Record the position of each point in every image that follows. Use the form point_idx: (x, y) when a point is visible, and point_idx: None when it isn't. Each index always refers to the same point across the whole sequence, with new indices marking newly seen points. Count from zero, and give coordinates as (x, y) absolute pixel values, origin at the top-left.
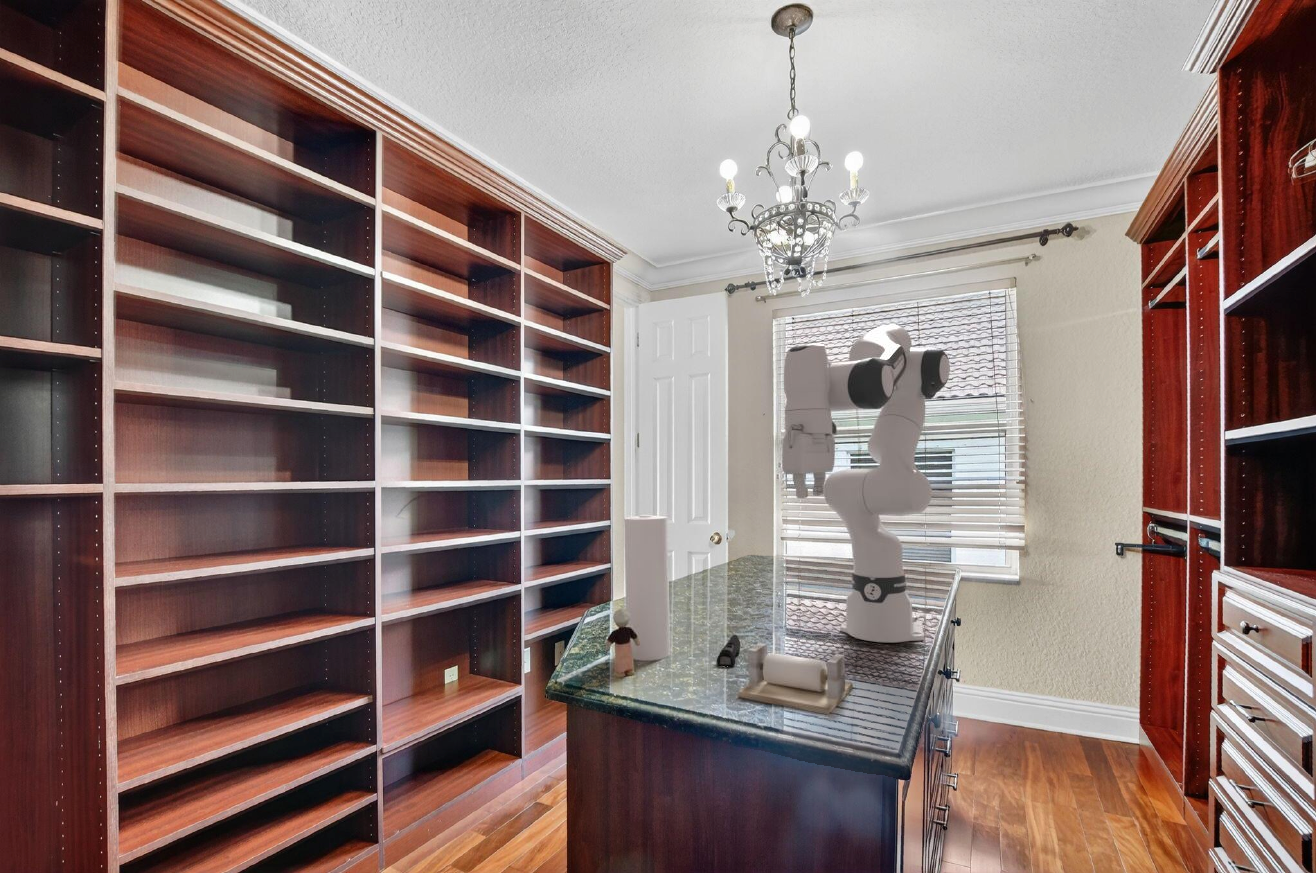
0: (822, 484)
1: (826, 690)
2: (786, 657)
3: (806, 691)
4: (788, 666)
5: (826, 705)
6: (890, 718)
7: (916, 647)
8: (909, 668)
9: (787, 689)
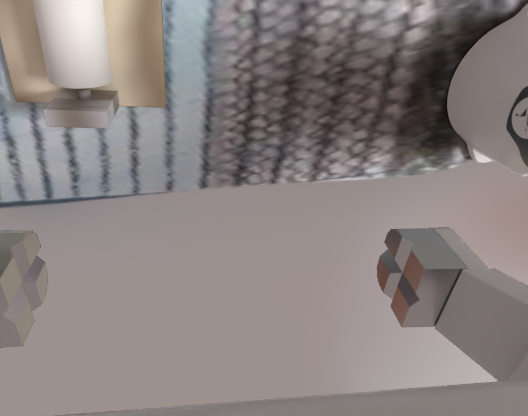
0: (451, 338)
1: None
2: (50, 4)
3: None
4: (36, 14)
5: (25, 95)
6: (70, 177)
7: (430, 155)
8: (307, 164)
9: None
